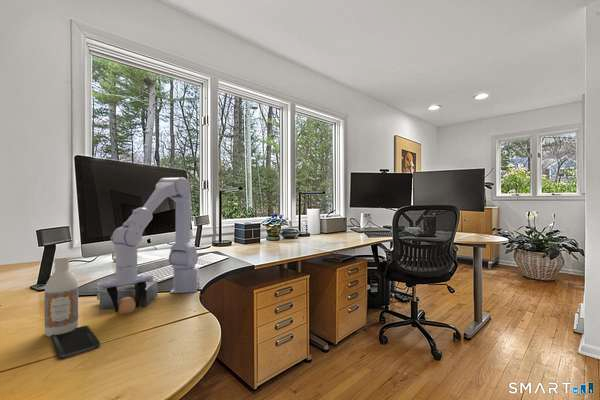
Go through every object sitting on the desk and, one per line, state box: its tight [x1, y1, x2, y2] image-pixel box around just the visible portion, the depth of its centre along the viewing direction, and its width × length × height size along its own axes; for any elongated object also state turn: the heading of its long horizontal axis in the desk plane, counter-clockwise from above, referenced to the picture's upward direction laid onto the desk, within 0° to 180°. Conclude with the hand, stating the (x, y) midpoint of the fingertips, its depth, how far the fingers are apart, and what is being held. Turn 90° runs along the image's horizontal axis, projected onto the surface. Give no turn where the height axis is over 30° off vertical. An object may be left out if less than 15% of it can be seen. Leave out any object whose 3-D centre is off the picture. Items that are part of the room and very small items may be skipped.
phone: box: [50, 325, 101, 360], centre depth 70 cm, size 8×1×15 cm
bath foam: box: [44, 255, 79, 338], centre depth 76 cm, size 7×7×20 cm
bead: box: [118, 297, 136, 315], centre depth 88 cm, size 5×5×5 cm
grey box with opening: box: [96, 279, 158, 310], centre depth 98 cm, size 17×11×7 cm, turn 100°
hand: (126, 308), depth 88 cm, fingers closed on bead, 5 cm apart
